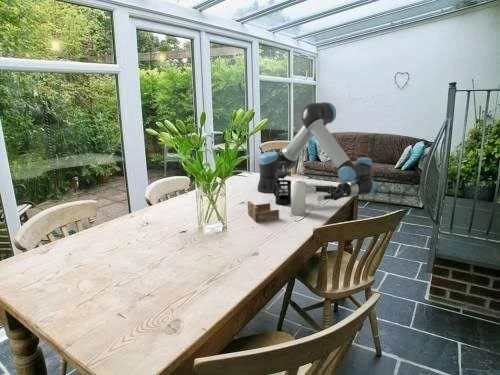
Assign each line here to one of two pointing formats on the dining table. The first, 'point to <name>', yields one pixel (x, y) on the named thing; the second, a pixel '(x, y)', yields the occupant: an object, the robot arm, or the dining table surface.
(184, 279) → the dining table surface
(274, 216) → the holder
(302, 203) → the roll
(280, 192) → the french press
